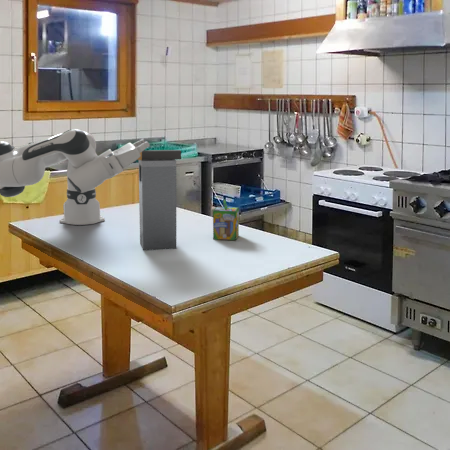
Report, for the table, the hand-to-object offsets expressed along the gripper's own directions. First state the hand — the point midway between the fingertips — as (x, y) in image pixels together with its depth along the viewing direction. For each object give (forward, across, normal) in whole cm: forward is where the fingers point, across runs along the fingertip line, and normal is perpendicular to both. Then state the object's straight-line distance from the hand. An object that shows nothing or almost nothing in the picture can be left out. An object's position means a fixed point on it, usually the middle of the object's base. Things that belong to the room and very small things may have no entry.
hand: (146, 141), depth 204 cm
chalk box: (+8, -8, -49) cm, 50 cm away
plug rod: (0, 0, -7) cm, 7 cm away
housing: (-16, 0, -35) cm, 38 cm away
